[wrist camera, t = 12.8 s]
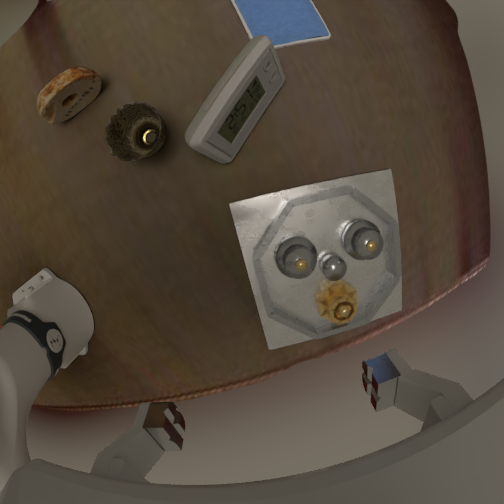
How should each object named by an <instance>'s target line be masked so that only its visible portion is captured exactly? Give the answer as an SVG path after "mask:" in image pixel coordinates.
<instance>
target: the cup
mask: <svg viewBox="0 0 504 504" xmlns="http://www.w3.org/2000/svg"><path fill="white" fill-rule="evenodd" d="M150 132H154V133H155V134H156V139H155V141H154V142H153V143H149V142H147V140H146V136H147V134H148V133H150ZM105 133H106V136H107V137H106V138H105V143H107V144H109V145H110V149H112V151H113V152H111V154H112V155H113V156H115V157H117V158H118V159H119V160H121V161H132V162H133V161H136V160H140V159H144V158H147V157H150V156H152V155H153V154H155V153H156V152H157V151H158V150H159V149H160V148H161V147H162V145H163V143H164V141H165V138H166V127H165V124H164V122H163V120H162V118H161V117H160V115H159V114H158V113H157V112H156V110H155V109H154V108H153V107H151V106H150V105H148V104H147V103H145V102H142V103H138V102H134V103H133V105H132V104H126V105H124V106H123V108H119V109H117V115H112V116H111V122H110V123H109V124H108V125H107V126H106V128H105Z"/></svg>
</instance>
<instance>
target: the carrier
mask: <svg viewBox="0 0 504 504" xmlns="http://www.w3.org/2000/svg"><path fill="white" fill-rule="evenodd" d="M229 205H230V209H231V212H232V216H233V220H234V224H235V227H236V231H237V235H238V239H239V242H240V246H241V250H242V253H243V257H244V261H245V264H246V268H247V272H248V275H249V279H250V283H251V286H252V290H253V294H254V297H255V301H256V305H257V308H258V312H259V315H260V319H261V323H262V326H263V330H264V333H265V337H266V341H267V344H268V348H269V350H272V349H276V348H280V347H284V346H288V345H292V344H296V343H300V342H304V341H307V340H311V339H320V338H324V337H327V336H331V335H334V334H337V333H341V332H344V331H347V330H350V329H353V328H357V327H360V326H363V325H366V324H367V322H370V321H373V320H375V319H378V318H381V317H384V316H387V315H390V314H392V313H395V312H398V311H400V310H402V274H401V251H400V236H399V225H398V215H397V206H396V198H395V191H394V184H393V178H392V172H391V169H383V170H377V171H372V172H366V173H361V174H356V175H350V176H345V177H340V178H335V179H330V180H325V181H321V182H316V183H311V184H307V185H302V186H297V187H293V188H289V189H284V190H280V191H276V192H271V193H267V194H263V195H259V196H255V197H251V198H247V199H243V200H239V201H235V202H231V203H229ZM341 279H342V280H343V281H345V282H346V283H348V284H349V285H351V286H353V287H354V288H355V289H356V290H357V302H358V305H357V311H358V312H357V313H356V315H355V316H354V317H353V319H352V320H351V321H350V322H347V323H343V324H340V325H339V324H337V323H335V322H331V321H329V320H327V319H325V318H323V317H321V316H320V315H319V313H318V308H317V302H316V296H317V295H318V294H319V292H320V291H321V289H322V288H323V287H324V285H325V284H327V283H330V282H334V281H338V280H341ZM335 308H336V309H337V310H338V312H339V313H340V315H341V316H342V317H347V316H348V315H349V314H350V309H349V308H348V306H347V305H346V303H345V302H341V303H338V305H337V306H336V307H335Z"/></svg>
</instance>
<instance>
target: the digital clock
mask: <svg viewBox="0 0 504 504" xmlns="http://www.w3.org/2000/svg"><path fill="white" fill-rule="evenodd" d="M284 81H285V76H284V73H283V70H282V67H281V64H280V61H279V58H278V56H277V53H276V50H275V48H274V45H273V44H272V42H271V40H270V38H269V37H268V36H266V35H258V36H256V37H254V38H252V39H251V40H250V41H249V42H248V43H247V45H246V46H245V47H244V48H243V49H242V51H241V52H240V53H239V54H238V56H237V57H236V58H235V60H234V61H233V62H232V63H231V65H230V66H229V67H228V69H227V70H226V72H225V73H224V74H223V76H222V77H221V78H220V80H219V81H218V83H217V84H216V85H215V87H214V88H213V90H212V91H211V93H210V94H209V96H208V97H207V99H206V100H205V101H204V103H203V104H202V106H201V108H200V109H199V111H198V112H197V114H196V115H195V117H194V118H193V120H192V122H191V123H190V125H189V127H188V128H187V130H186V132H185V141H186V143H187V145H188V146H189V147H191V148H192V149H194V150H196V151H198V152H200V153H201V154H203V155H205V156H207V157H209V158H211V159H213V160H215V161H217V162H219V163H221V164H225V163H229V162H231V161H232V160H233V159H234V157H235V156H236V154H237V152H238V151H239V149H240V148H241V146H242V145H243V143H244V142H245V140H246V138H247V137H248V135H249V134H250V132H251V131H252V129H253V128H254V126H255V125H256V123H257V122H258V120H259V119H260V117H261V116H262V114H263V113H264V111H265V110H266V108H267V107H268V105H269V104H270V102H271V101H272V99H273V98H274V96H275V95H276V94H277V92H278V91H279V89H280V88H281V86H282V85H283V83H284Z"/></svg>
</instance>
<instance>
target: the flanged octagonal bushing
mask: <svg viewBox="0 0 504 504" xmlns="http://www.w3.org/2000/svg"><path fill="white" fill-rule="evenodd" d="M316 302H317V308H318V313H319V315H320V316H321V317H323V318H325V319H327V320H329V321H331V322H335V323H337V324H339V325H340V324H343V323H347V322H350V321H351V320H352V319H353V317H354V316H355V315H356V313H357V312H358V311H357V305H358V302H357V290H356V289H355V288H354V287H353V286H351V285H349V284H348V283H346V282H345V281H343V280H342V279H341V280H338V281H334V282H330V283H327V284H325V285H324V287H323V288H322V289H321V291H320V292H319V294H318V295H317V296H316ZM341 302H345V303H346V305H347V306H348V308H349V309H350V314H349V315H348V316H347V317H342V316H341V315H340V313H339V312H338V310H337V309H336V308H335V307H336V306H337V305H338V303H341Z"/></svg>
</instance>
